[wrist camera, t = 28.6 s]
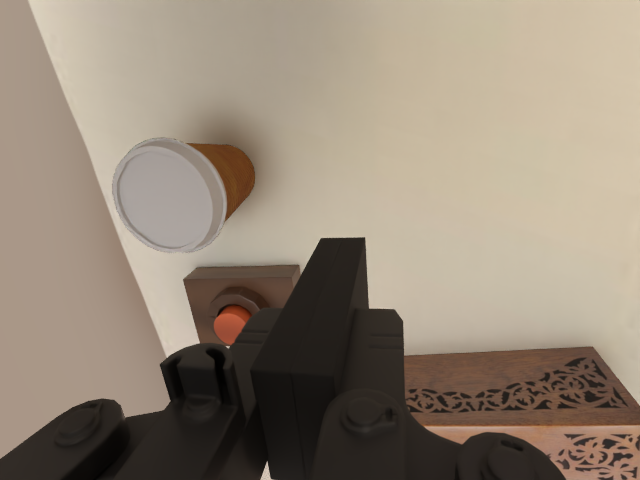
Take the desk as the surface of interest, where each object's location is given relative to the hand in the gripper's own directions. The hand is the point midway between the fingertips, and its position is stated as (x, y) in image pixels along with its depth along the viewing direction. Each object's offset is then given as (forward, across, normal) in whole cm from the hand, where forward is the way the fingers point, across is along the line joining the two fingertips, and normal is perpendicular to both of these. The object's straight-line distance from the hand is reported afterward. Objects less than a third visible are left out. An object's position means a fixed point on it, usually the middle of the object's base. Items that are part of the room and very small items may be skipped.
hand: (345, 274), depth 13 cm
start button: (+21, -16, -16) cm, 30 cm away
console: (+25, -16, -16) cm, 34 cm away
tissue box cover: (+25, +10, -29) cm, 40 cm away
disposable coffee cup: (+25, -16, 0) cm, 30 cm away
